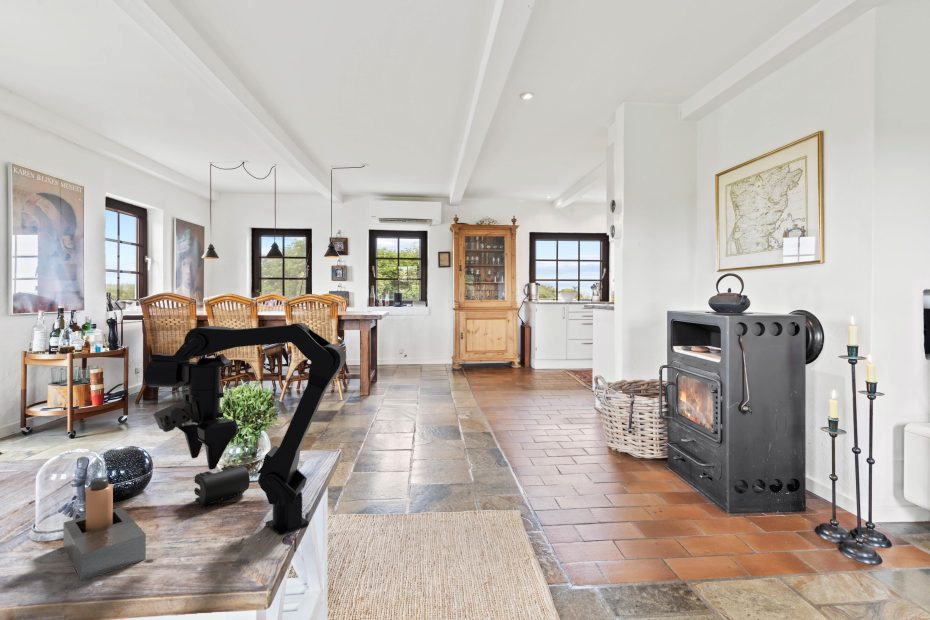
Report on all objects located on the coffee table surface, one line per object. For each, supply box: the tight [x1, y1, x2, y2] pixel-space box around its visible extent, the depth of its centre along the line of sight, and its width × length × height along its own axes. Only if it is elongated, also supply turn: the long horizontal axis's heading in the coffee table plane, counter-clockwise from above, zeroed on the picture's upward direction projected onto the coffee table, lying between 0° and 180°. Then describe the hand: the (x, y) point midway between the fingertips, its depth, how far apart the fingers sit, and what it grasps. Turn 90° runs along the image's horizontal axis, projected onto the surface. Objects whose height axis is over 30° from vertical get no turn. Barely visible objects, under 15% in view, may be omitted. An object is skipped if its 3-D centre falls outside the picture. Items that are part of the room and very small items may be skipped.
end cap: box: [193, 464, 251, 507], centre depth 109 cm, size 10×7×7 cm
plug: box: [85, 477, 114, 532], centre depth 88 cm, size 4×4×12 cm
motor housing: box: [62, 506, 147, 582], centre depth 86 cm, size 16×9×4 cm, turn 49°
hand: (203, 463), depth 96 cm, fingers open, 9 cm apart
